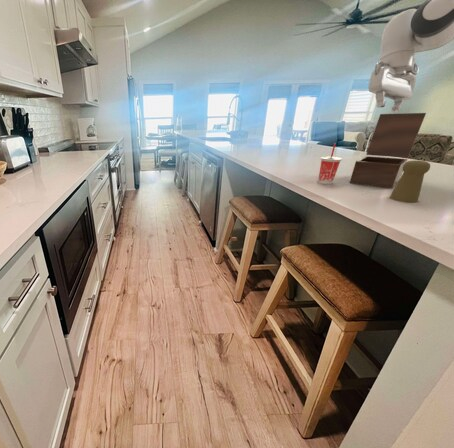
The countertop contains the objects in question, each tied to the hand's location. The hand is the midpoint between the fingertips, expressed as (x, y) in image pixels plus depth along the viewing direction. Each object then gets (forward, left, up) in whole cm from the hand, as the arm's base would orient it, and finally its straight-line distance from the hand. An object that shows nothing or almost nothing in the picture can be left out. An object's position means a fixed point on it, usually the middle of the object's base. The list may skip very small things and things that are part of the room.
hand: (388, 109), depth 84 cm
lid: (-4, -1, -9) cm, 9 cm away
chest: (-4, +6, -24) cm, 25 cm away
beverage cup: (+8, +18, -24) cm, 32 cm away
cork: (-14, +24, -24) cm, 37 cm away
